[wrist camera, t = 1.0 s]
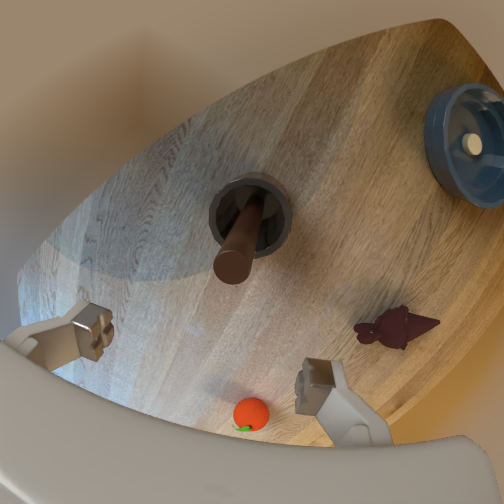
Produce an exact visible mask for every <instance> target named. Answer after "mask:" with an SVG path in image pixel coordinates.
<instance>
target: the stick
mask: <svg viewBox="0 0 504 504" xmlns="http://www.w3.org/2000/svg"><path fill="white" fill-rule="evenodd" d="M263 210H264V203H263V201H262V200H261V199H260V198H258V197H252V198H250V199H249V200H248V201H247V202H246V204H245V206H244V207H243V209H242V211H241V213H240V215H239V216H238V218H237V220H236V222H235V223H234V225H233V227H232V229H231V231H230V232H229V234H228V236H227V238H226V240H225V241H224V243H223V245H222V247H221V249H220V250H219V252H218V254H217V256H216V258H215V260H214V263H213V269H214V272H215V274H216V276H217V277H218V278H219V279H220V280H221V281H222V282H224V283H227V284H232V285H234V284H239V283H242V282H243V281H245V280H246V279H247V278H248V276H249V274H250V271H251V266H252V261H253V257H254V252H255V247H256V243H257V238H258V234H259V229H260V224H261V220H262V215H263Z"/></svg>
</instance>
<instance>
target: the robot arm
mask: <svg viewBox="0 0 504 504" xmlns="http://www.w3.org/2000/svg"><path fill="white" fill-rule="evenodd" d="M112 319H113V315H112V311H111V310H109V309H106V308H104V307H101V306H98V305H96V304H93V303H90V302H88V301H85V300H80V301H79V302H78V303H77V304H76V305H75V306H74V307H72V308H71V309H70V310H69V311H68V312H67V313H66V314H65V315H64V316H63V317H62V318H61V317H56V318H52V319H48V320H45V321H41V322H37V323H33V324H29V325H26V326H22V327H18V328H16V329H15V330H14V331H13V332H12V333H11V334H10V335H9V336H8V337H6V339H4V340H3V341H1V340H0V504H502V500H501V496H500V492H499V487H498V483H497V480H496V476H495V473H494V470H493V467H492V464H491V461H490V459H489V457H488V455H487V453H486V451H485V450H483V449H482V448H481V447H480V446H479V445H477V444H476V443H475V442H474V441H473V440H471V439H470V438H468V437H467V436H464V435H456V436H452V437H446V438H441V439H436V440H430V441H423V442H416V443H409V444H399V445H394V444H393V440H392V436H391V433H390V429H389V426H388V423H387V422H386V421H385V420H384V419H383V418H382V417H381V416H379V415H378V414H377V413H376V412H375V411H374V410H373V409H372V408H371V407H370V406H369V405H368V404H367V403H366V402H365V401H364V400H363V399H361V398H360V397H359V396H358V395H357V394H356V393H355V392H354V391H353V390H352V389H349V388H348V383H347V379H346V375H345V371H344V367H343V364H342V362H341V361H333V360H322V359H315V358H307V357H306V358H305V359H304V361H303V364H302V368H303V370H301V371H299V373H298V375H297V378H296V382H295V394H296V395H297V398H296V400H295V411H296V414H302V415H310V416H316V419H317V420H318V421H319V423H320V424H321V426H322V427H323V429H324V430H325V432H326V433H327V434H328V436H329V437H330V439H331V440H332V441H333V443H334V444H335V447H314V446H299V445H287V444H277V443H269V442H261V441H254V440H248V439H242V438H236V437H231V436H226V435H221V434H216V433H211V432H207V431H203V430H199V429H195V428H191V427H187V426H183V425H180V424H176V423H173V422H169V421H166V420H163V419H159V418H156V417H153V416H150V415H147V414H144V413H141V412H139V411H136V410H133V409H130V408H128V407H125V406H122V405H120V404H117V403H115V402H112V401H110V400H108V399H105V398H103V397H101V396H98V395H96V394H94V393H92V392H89V391H87V390H85V389H83V388H81V387H79V386H77V385H75V384H73V383H71V382H69V381H67V380H65V379H63V378H61V377H59V376H57V375H55V374H54V373H52V372H51V371H53V370H55V369H57V368H59V367H61V366H63V365H65V364H67V363H69V362H71V361H73V360H75V359H77V358H79V357H81V356H82V357H85V358H87V359H89V360H92V361H95V362H97V361H98V360H99V359H100V357H101V356H102V354H103V353H104V351H103V348H106V347H108V346H109V345H110V344H111V342H112V339H113V337H114V326H113V325H112V323H111V322H110V321H111V320H112Z"/></svg>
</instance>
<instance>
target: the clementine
mask: <svg viewBox="0 0 504 504" xmlns="http://www.w3.org/2000/svg"><path fill="white" fill-rule="evenodd" d="M233 417H234V421H235V423H236V424H237V425H238V426H239V427H240V428H239V429H236V428H235V429H236V430H238V431H257V430H260V429H261V428H263V427H264V426H265V425H266V423H267V422H268V420H269V410H268V408H267V406H266V405H265V404H264V403H263V402H262V401H260V400H258V399H254V398H248V399H244V400H242V401H241V402H239V403H238V404H237V405H236V407H235V409H234V412H233ZM232 425H233V424H232ZM233 427H234V426H233Z"/></svg>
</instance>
